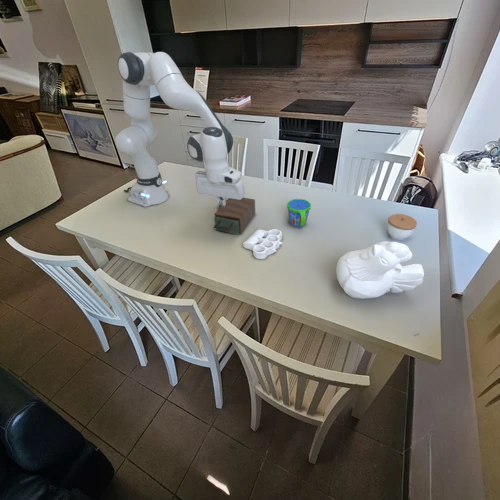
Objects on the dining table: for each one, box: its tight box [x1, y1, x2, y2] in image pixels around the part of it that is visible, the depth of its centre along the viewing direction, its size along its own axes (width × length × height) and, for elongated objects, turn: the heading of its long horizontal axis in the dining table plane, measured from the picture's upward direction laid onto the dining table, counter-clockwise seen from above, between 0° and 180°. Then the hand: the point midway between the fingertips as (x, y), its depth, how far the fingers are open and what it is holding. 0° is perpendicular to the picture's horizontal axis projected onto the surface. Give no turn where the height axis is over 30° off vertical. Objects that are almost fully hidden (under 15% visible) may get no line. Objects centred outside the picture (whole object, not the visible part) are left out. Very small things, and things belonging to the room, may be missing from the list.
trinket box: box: [386, 213, 418, 241], centre depth 117 cm, size 11×11×9 cm
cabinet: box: [214, 197, 256, 235], centre depth 132 cm, size 18×13×9 cm
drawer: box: [213, 215, 240, 235], centre depth 128 cm, size 21×11×7 cm, turn 158°
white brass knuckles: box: [242, 228, 284, 260], centre depth 118 cm, size 3×18×15 cm
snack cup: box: [286, 198, 312, 228], centre depth 128 cm, size 16×10×10 cm
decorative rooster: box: [335, 240, 425, 300], centre depth 88 cm, size 25×16×25 cm
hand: (222, 205), depth 115 cm, fingers closed
